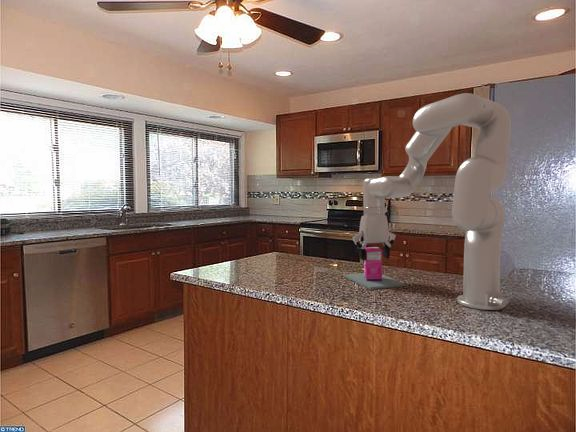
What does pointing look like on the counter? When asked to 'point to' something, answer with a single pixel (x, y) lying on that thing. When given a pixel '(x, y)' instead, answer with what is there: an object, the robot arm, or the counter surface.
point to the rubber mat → (385, 282)
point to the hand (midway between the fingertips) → (374, 258)
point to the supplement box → (373, 264)
